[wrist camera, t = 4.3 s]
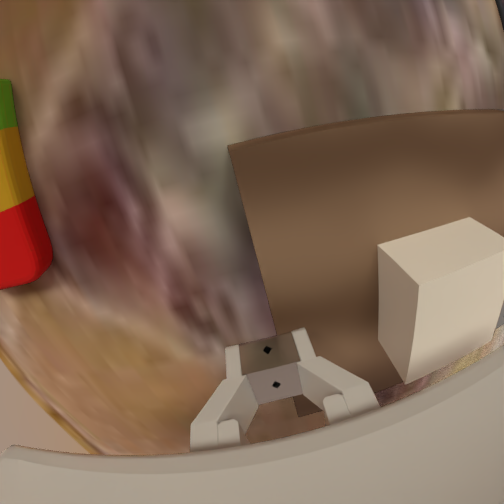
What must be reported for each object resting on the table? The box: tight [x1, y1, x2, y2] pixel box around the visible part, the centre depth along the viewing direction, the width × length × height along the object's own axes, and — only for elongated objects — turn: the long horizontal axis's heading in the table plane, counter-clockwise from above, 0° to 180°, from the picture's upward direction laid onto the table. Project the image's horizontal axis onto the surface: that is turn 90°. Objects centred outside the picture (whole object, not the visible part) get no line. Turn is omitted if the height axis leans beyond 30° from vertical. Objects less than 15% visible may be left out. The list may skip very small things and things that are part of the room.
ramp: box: [228, 109, 504, 417], centre depth 13 cm, size 14×14×2 cm
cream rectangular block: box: [377, 217, 504, 385], centre depth 11 cm, size 5×5×3 cm
